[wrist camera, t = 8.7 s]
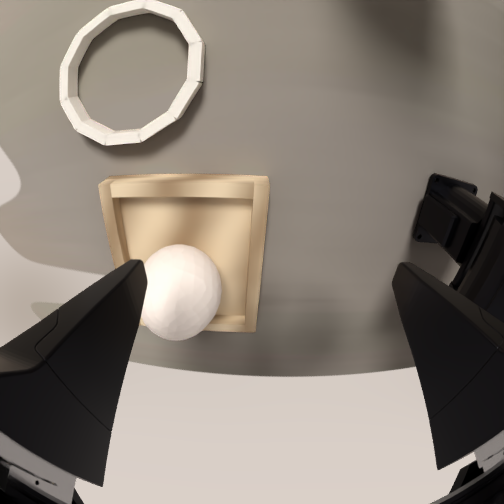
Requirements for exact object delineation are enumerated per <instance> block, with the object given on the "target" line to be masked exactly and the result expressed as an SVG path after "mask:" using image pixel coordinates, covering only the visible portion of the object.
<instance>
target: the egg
mask: <svg viewBox="0 0 504 504" xmlns="http://www.w3.org/2000/svg"><path fill="white" fill-rule="evenodd" d="M144 267H145V271H146V275H147V280H148V285H147V290H146V294H145V299H144V304H143V309H142V314H141V317H142V319H143V321H144V323H145V324H146V326H147V327H148V328H149V329H150V330H151V331H152V332H153V333H154V334H156V335H158V336H159V337H161V338H164V339H167V340H171V341H182V340H185V339H188V338H191V337H193V336H195V335H197V334H198V333H200V332H201V331H202V330H203V329H204V328H205V327H206V326H207V325H208V324H209V323H210V321H211V320H212V319H213V317H214V316H215V314H216V312H217V309H218V307H219V304H220V299H221V293H222V286H221V278H220V275H219V272H218V270H217V268H216V266H215V264H214V262H213V261H212V260H211V259H210V258H209V256H208V255H206V254H205V253H204V252H203V251H201V250H199V249H197V248H195V247H193V246H188V245H183V244H176V245H170V246H166V247H164V248H162V249H160V250H158V251H157V252H155V253H154V254H152V255H151V256H150V257H149V259H148V260H147V261H146V262H145V264H144Z"/></svg>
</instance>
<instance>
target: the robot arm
mask: <svg viewBox="0 0 504 504" xmlns="http://www.w3.org/2000/svg"><path fill="white" fill-rule="evenodd" d="M436 178H437V179H436ZM435 179H436V181H435ZM476 194H477V186H475V185H474V184H471V183H468V182H464V181H461V180H458V179H454V178H451V177H447V176H444V175H440V174H437V173H434V174H432V175H431V177H430V181H429V185H428V189H427V193H426V196H425V200H424V203H423V206H422V210H421V213H420V216H419V219H418V222H417V225H416V228H415V231H414V234H413V238H414V239H415V240H416V241H417V242H429V243H438V244H439V245H440V246H441V247H443V248H444V250H445V251H446V252H447V253H448V254H449V255H450V256H451V257H452V258H453V259H454V260H455V262H456V263H457V264H458V265H459V266H460V268H459V270H458V272H457V274H456V276H455V278H454V280H453V281H452V282H451V283H450V285H449V286H448V285H446V284H444V283H443V282H441V281H440V280H438V279H436V278H435V277H433V276H432V275H430V274H428V273H427V272H425V271H423V270H422V269H420V268H418V267H417V266H415V265H413V264H412V263H410V262H401V263H399V265H398V267H397V270H396V272H395V275H394V278H393V281H392V287H393V291H394V294H395V298H396V302H397V306H398V310H399V314H400V317H401V321H402V324H403V327H404V330H405V333H406V336H407V339H408V342H409V345H410V348H411V352H412V355H413V358H414V362H415V365H416V368H417V372H418V376H419V379H420V383H421V387H422V390H423V395H424V399H425V403H426V407H427V412H428V417H429V422H430V427H431V433H432V438H433V444H434V450H435V457H436V465H437V469H438V470H440V469H442V468H444V467H446V466H448V465H450V464H452V463H454V462H456V461H458V460H460V459H462V458H463V457H465V456H467V455H469V454H470V453H472V452H475V456H476V460H475V461H473V462H472V463H470V464H469V465H467V466H465V467H463V468H462V469H460V471H459V473H458V476H457V478H456V480H455V482H454V485H453V486H452V489H451V491H450V493H449V494H448V495H447V496H444V497H442V498H440V499H439V500H437V501H435V502H432V503H430V504H504V198H503V197H501V196H499V195H497V194H496V193H494V192H491V195H490V201H489V204H486V203H485V202H484V201H482V200H481V199H479V198H478V197H476ZM418 235H419V236H418ZM147 285H148V280H147V275H146V271H145V267H144V263H143V261H142V260H141V259H130V260H129V261H127V262H126V263H124V264H123V265H121V266H119V267H118V268H116V269H115V270H113V271H112V272H110V273H109V274H107V275H106V276H104V277H103V278H101V279H100V280H98V281H97V282H95V283H94V284H92V285H91V286H89V287H88V288H86V289H85V290H84V291H82V292H81V293H79V294H78V295H76V296H75V297H74V298H72V299H71V300H69V301H68V302H66V303H65V304H64V305H62V306H61V307H59V310H58V309H56V310H55V311H54V312H52V313H51V314H50V315H48V316H47V317H45V318H44V319H43V320H41V321H40V322H39V323H37V324H35V325H34V326H32V327H31V328H29V329H28V330H26V331H25V332H23V333H22V334H20V335H19V336H17V337H16V338H14V339H13V340H11V341H10V342H8V343H7V344H5V345H4V346H2V347H0V504H84V503H83V501H82V500H81V498H80V497H79V495H78V493H77V492H76V490H75V488H74V486H75V481H76V477H77V478H79V479H82V480H84V481H87V482H90V483H92V484H95V485H98V486H101V487H103V482H104V475H105V468H106V461H107V455H108V449H109V444H110V438H111V431H112V427H113V423H114V418H115V413H116V409H117V404H118V399H119V396H120V392H121V387H122V383H123V380H124V375H125V372H126V368H127V364H128V361H129V357H130V354H131V350H132V347H133V343H134V340H135V337H136V333H137V330H138V327H139V323H140V319H141V314H142V309H143V304H144V299H145V294H146V290H147Z"/></svg>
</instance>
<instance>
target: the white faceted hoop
mask: <svg viewBox="0 0 504 504" xmlns="http://www.w3.org/2000/svg"><path fill="white" fill-rule="evenodd" d="M145 13H152V14H155V15H157V16H160V17H163V18H166V19H168V20H171V21H174V22H175V23H176V25H177V26H178V28H179V29H180V31H181V32H182V34H183V36H184V37H185V39H186V40H187V42H188V44H189V53H188V70H187V80H186V82H185V83H184V85H183V86H182V88H181V90H180V91H179V93H178V95H177V96H176V98H175V100H174V101H173V103H172V105H171V106H170V108H169V110H168V111H167V112H166V113H164V114H163V115H161V116H160V117H158V118H157V119H155V120H153V121H152V122H151V123H149V124H148V125H146V126H145V127H143V128H142V129H131V130H121V131H114V130H112V129H110V128H108V127H106V126H104V125H102V124H100V123H98V122H96V121H94V120H92V119H91V118H90V117H89V115H88V113H87V111H86V110H85V108H84V106H83V104H82V103H81V101H80V99H79V97H78V66H79V64H80V62H81V60H82V58H83V56H84V54H85V52H86V51H87V49H88V47H89V45H90V43H91V41H92V39H94V38H95V37H96V36H97V35H98V34H100V33H101V32H102V31H103V30H105V29H106V28H107V27H109V26H110V25H111V24H113V23H114V22H115V21H117V20H118V19H121V18H126V17H130V16H135V15H140V14H145ZM78 33H79V34H78ZM78 33H77V34H76V36H75V38H74V40H73V41H72V43H71V45H70V47H69V49H68V51H67V53H66V55H65V58H64V60H63V62H62V64H61V68H60V101H62V102H61V103H60V104H61V106H62V107H63V109H64V111H65V113H66V115H67V116H68V118H69V120H70V122H71V123H72V125H73V127H74V129H75V130H77V132H79V133H81V134H83V135H85V136H87V137H89V138H91V139H93V140H95V141H97V142H99V143H100V144H102V145H106V146H107V145H117V144H128V143H140V142H143V141H145V140H147V139H149V138H150V137H152V136H153V135H155V134H156V133H158V132H159V131H161V130H162V129H164V128H165V127H167V126H169V125H170V124H172V123H173V122H175V121H177V120H178V119H180V117H182V116H183V114H184V112H185V111H186V109H187V107H188V106H189V104H190V103H191V101H192V99H193V98H194V96H195V95H196V93H197V91H198V90H199V88H200V87H201V85H202V83H200V82H203V74H204V57H205V45H204V44H205V43H204V42H203V40H202V38H201V37H200V35H199V34H198V32H197V31H196V29H195V27H194V26H193V24H192V23H191V21H190V20H189V18H188V17H187V15H186V14H185V13H184V11H182V10H181V9H179V8H176V7H173V6H171V5H168V4H165V3H162V2H159V1H156V0H135V1H130V2H126V3H122V4H118V5H114V6H110V8H107V9H105V10H104V11H103V12H101V13H100V14H99V15H98V16H96V17H95V18H94V19H93V20H91V21H90V22H89V23H88V24H87V25H85V26H84V27H83V28H82V29H81V30H80V31H78Z"/></svg>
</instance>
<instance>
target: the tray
mask: <svg viewBox="0 0 504 504" xmlns="http://www.w3.org/2000/svg"><path fill="white" fill-rule="evenodd" d="M98 186H99V193H100V199H101V205H102V211H103V216H104V221H105V226H106V231H107V236H108V240H109V245H110V249H111V253H112V258H113V262H114V265H115V269H116V268H118V267H119V266H121V265H123V264H124V263H126V262H127V261H129V260H130V259H141V260H142V261H143V263H144V264H145V262H146V261H147V260H148V259H149V257H150V256H151V255H152V254H154V253H155V252H157V251H158V250H160V249H162V248H164V247H166V246H170V245H176V244H183V245H188V246H193V247H195V248H197V249H199V250H201V251H203V252H204V253H205V254H206V255H208V256H209V258H210V259H211V260H212V261H213V262H214V264H215V266H216V268H217V270H218V272H219V275H220V278H221V286H222V293H221V299H220V304H219V307H218V309H217V312H216V314H215V316H214V317H213V319H212V320H211V321H210V323H209V324H208V325H207V326H206V327H205V328H204V329H203V330H204V331H225V332H255V330H256V321H257V311H258V302H259V292H260V283H261V273H262V263H263V253H264V242H265V232H266V222H267V211H268V200H269V189H270V184H269V180H268V176H253V175H228V174H146V175H122V176H109V177H108V178H107V179H106V180H104V181H103V182H102V183H100V184H99V185H98ZM139 325H143V326H146V324H145V323H144V321H143V319H142V317H141V319H140V323H139Z"/></svg>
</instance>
